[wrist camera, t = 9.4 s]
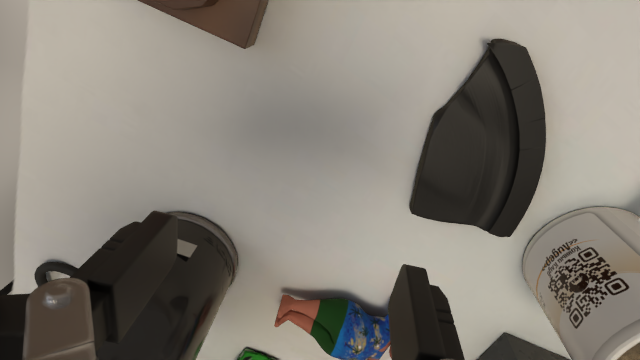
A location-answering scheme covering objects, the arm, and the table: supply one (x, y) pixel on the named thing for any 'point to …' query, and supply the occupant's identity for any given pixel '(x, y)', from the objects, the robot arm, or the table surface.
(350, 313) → the toy character
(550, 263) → the mug
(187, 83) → the table surface
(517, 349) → the dial panel
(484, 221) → the fan shaped piece
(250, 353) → the toy car
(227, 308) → the table surface
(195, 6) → the button block
